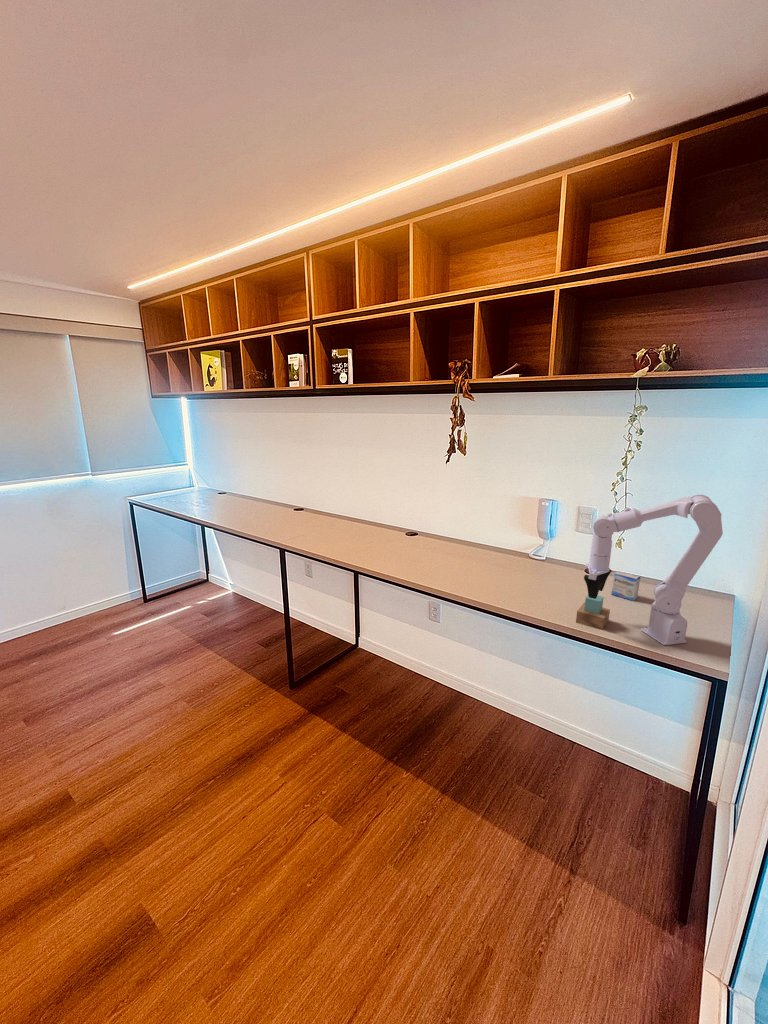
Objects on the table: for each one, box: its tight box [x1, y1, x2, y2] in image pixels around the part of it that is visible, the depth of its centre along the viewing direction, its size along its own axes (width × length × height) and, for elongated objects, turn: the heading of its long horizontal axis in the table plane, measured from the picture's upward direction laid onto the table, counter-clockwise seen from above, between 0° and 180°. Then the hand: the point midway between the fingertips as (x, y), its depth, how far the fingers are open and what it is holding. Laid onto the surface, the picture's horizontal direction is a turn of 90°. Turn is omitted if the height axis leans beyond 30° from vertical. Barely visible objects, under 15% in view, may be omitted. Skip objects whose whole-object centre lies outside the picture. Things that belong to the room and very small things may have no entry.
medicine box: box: [610, 570, 641, 602], centre depth 161 cm, size 8×4×9 cm, turn 45°
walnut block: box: [575, 602, 611, 631], centre depth 142 cm, size 8×8×4 cm
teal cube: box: [584, 594, 605, 614], centre depth 142 cm, size 4×4×4 cm
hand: (595, 593), depth 141 cm, fingers open, 7 cm apart
